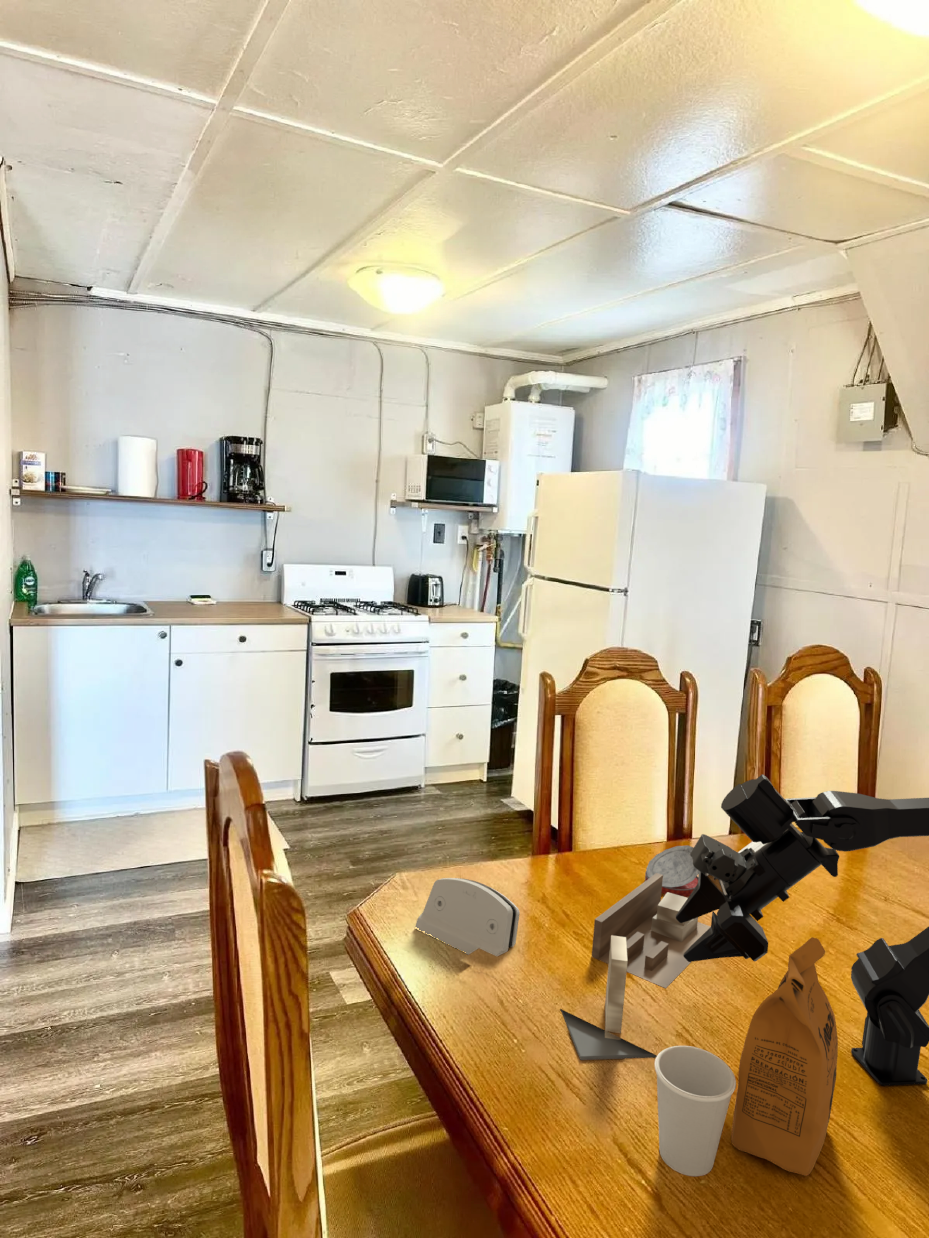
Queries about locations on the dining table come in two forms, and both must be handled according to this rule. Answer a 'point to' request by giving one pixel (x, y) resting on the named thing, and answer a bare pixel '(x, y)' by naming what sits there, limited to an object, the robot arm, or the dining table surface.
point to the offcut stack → (672, 918)
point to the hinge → (470, 916)
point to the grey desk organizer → (643, 935)
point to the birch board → (615, 986)
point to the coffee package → (788, 1069)
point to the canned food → (675, 870)
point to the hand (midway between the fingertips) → (681, 938)
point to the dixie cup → (691, 1107)
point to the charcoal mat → (599, 1042)
